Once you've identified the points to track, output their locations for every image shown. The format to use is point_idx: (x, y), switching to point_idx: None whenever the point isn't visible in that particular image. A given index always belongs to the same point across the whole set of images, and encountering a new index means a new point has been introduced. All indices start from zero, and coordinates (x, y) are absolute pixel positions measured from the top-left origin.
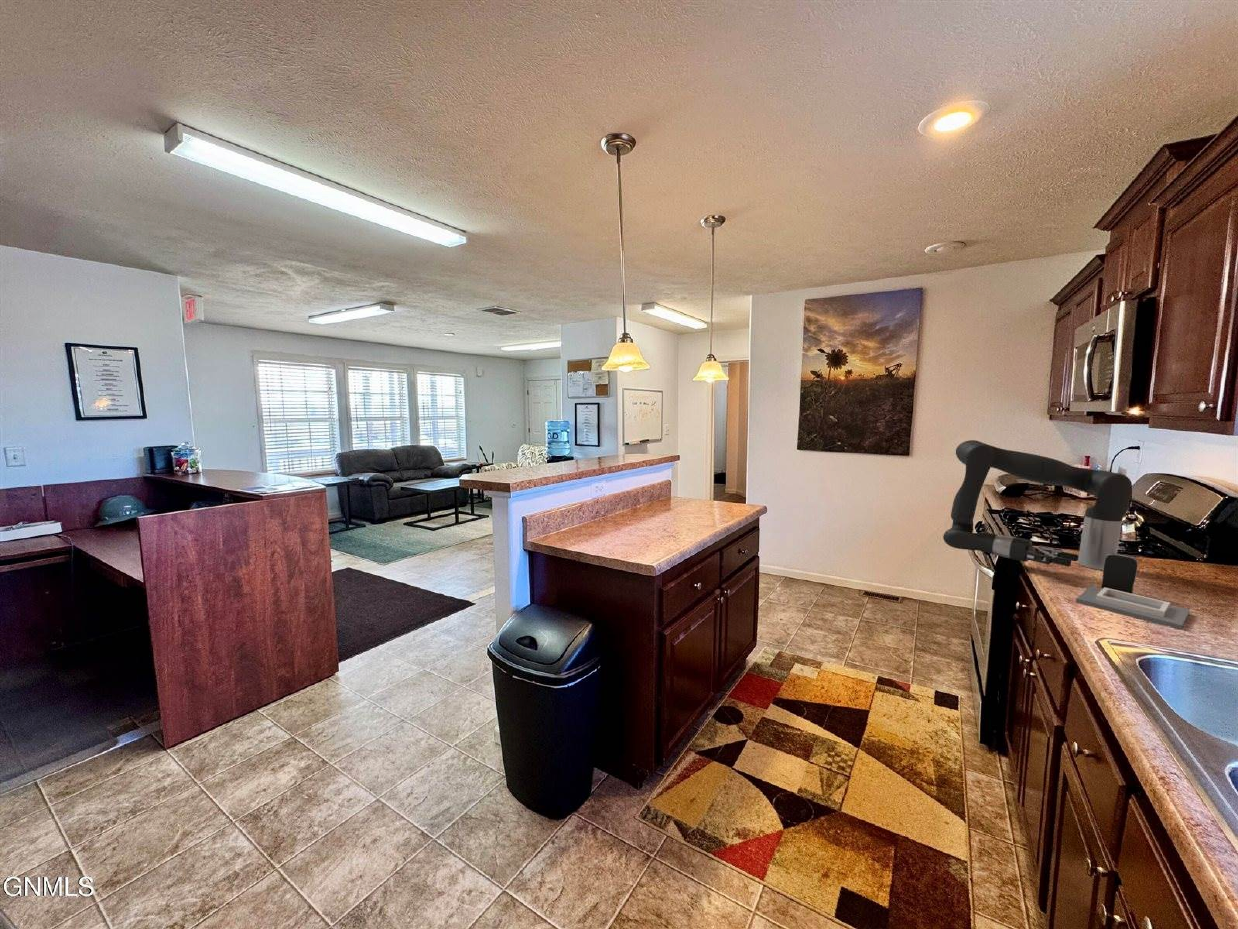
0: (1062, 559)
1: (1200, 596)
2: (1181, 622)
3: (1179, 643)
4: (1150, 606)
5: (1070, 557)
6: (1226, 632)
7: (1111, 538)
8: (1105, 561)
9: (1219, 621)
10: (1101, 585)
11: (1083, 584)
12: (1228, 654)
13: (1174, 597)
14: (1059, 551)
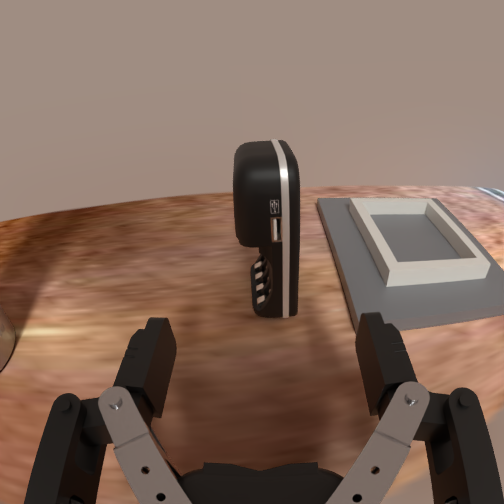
0: (388, 350)
1: (142, 215)
2: (423, 198)
3: (490, 206)
4: (383, 223)
5: (165, 364)
6: (367, 186)
7: None
8: (298, 203)
9: (311, 191)
10: (289, 310)
11: (288, 366)
12: (458, 186)
13: (194, 228)
14: (138, 410)
